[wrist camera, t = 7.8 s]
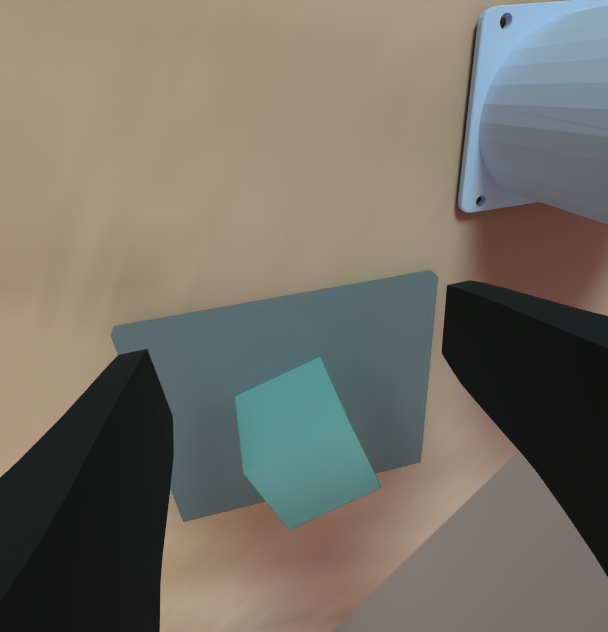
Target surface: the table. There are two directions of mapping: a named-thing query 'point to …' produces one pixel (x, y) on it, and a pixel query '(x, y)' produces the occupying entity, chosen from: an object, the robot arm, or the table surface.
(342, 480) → the cube
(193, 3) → the table surface
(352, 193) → the table surface
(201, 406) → the grey blue flat plate
